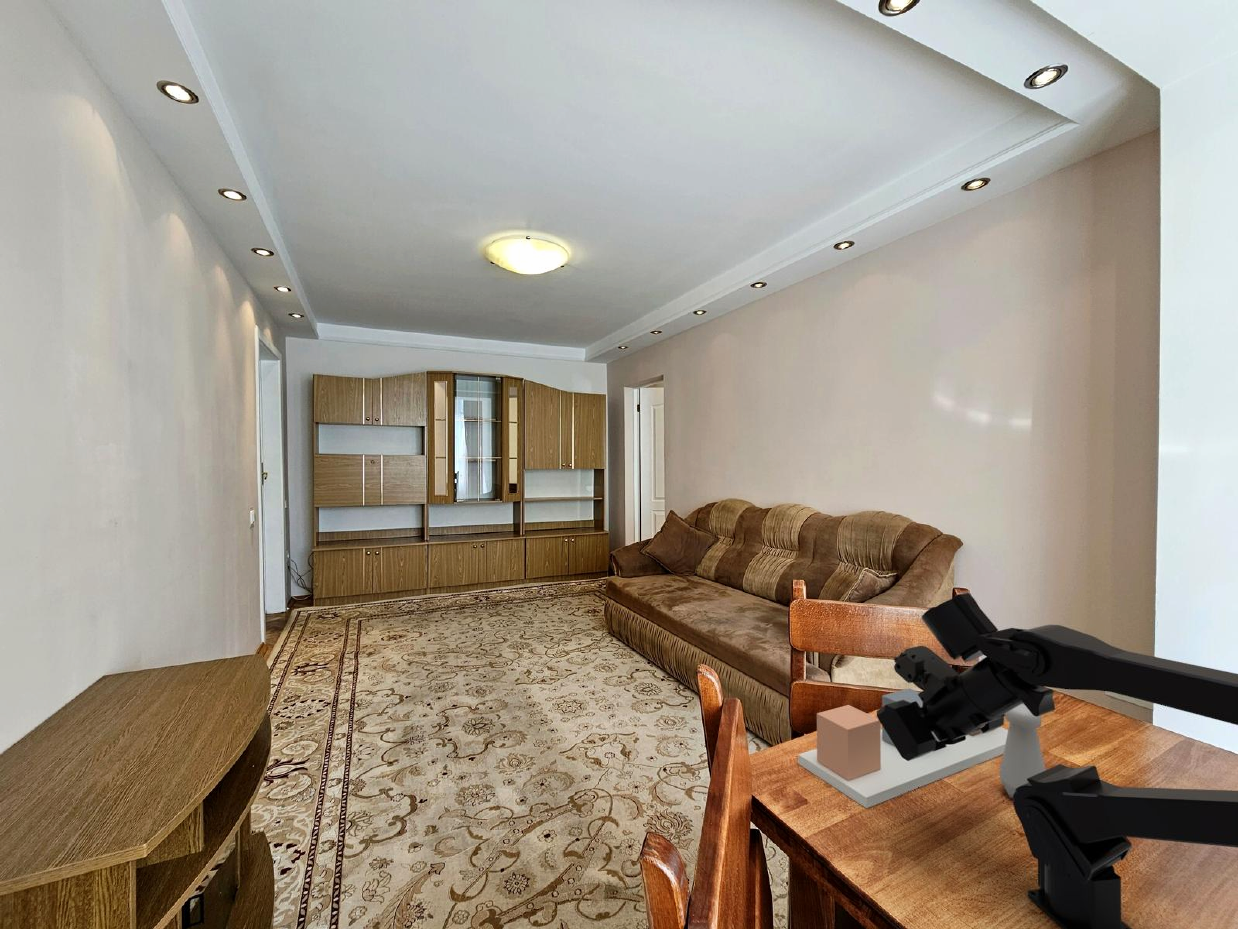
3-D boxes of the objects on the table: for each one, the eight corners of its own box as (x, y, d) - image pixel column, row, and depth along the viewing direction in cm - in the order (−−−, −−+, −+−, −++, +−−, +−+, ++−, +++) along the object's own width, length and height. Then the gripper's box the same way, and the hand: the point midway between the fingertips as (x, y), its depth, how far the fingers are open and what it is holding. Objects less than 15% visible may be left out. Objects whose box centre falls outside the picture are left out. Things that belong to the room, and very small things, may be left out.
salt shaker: (1058, 812, 76) (1057, 718, 76) (1011, 807, 77) (1010, 714, 77) (1035, 787, 82) (1034, 700, 82) (992, 783, 83) (991, 697, 83)
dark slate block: (942, 746, 91) (942, 701, 91) (915, 756, 88) (914, 709, 88) (909, 731, 96) (909, 688, 96) (882, 740, 93) (882, 695, 93)
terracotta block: (880, 769, 84) (880, 720, 84) (848, 780, 81) (847, 729, 81) (848, 751, 89) (848, 704, 90) (817, 761, 86) (816, 713, 86)
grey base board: (950, 715, 106) (950, 707, 106) (1024, 745, 94) (1024, 736, 94) (798, 763, 89) (798, 754, 89) (866, 808, 77) (866, 797, 77)
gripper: (980, 624, 76) (908, 676, 86) (889, 644, 68) (821, 699, 78) (1044, 703, 69) (958, 750, 79) (952, 735, 61) (868, 783, 71)
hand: (901, 742), depth 77 cm, fingers closed
